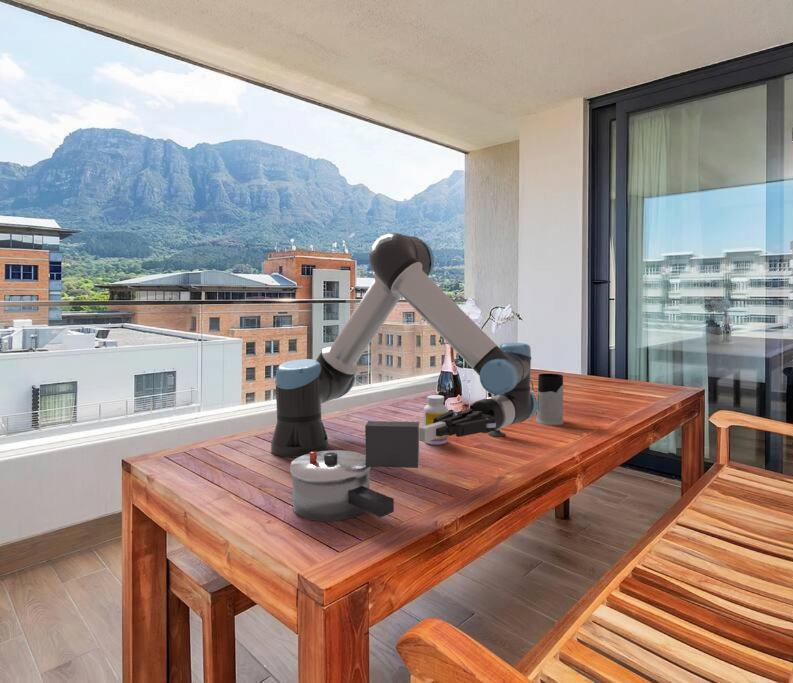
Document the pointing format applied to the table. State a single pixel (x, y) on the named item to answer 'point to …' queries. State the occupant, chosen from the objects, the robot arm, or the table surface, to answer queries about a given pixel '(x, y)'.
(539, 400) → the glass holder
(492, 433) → the sundae
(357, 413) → the table surface
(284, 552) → the table surface
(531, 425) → the table surface
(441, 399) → the supplement bottle
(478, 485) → the table surface
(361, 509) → the pot
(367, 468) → the lid
